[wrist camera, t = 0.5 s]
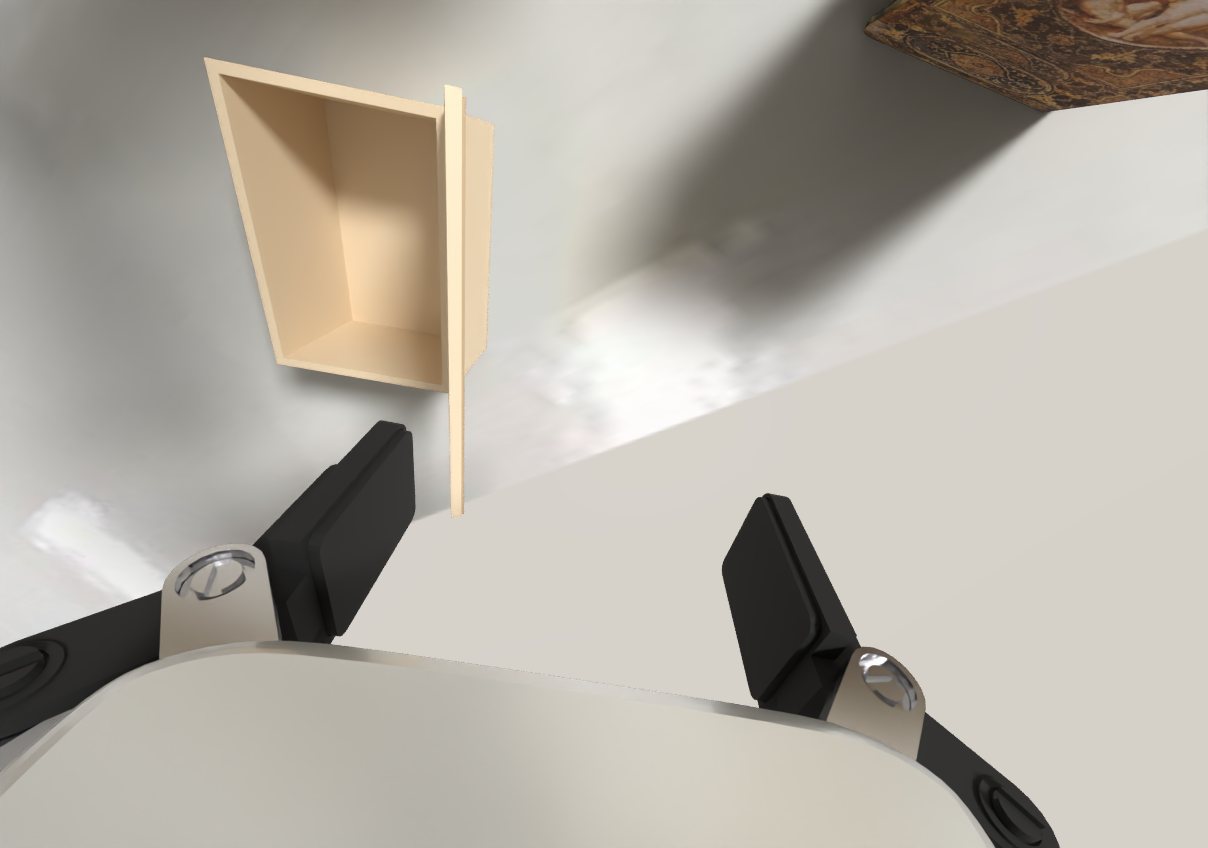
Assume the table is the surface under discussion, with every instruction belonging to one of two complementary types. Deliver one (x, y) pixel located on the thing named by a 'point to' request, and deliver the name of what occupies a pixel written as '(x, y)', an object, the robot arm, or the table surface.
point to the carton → (354, 223)
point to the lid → (455, 282)
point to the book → (1057, 46)
